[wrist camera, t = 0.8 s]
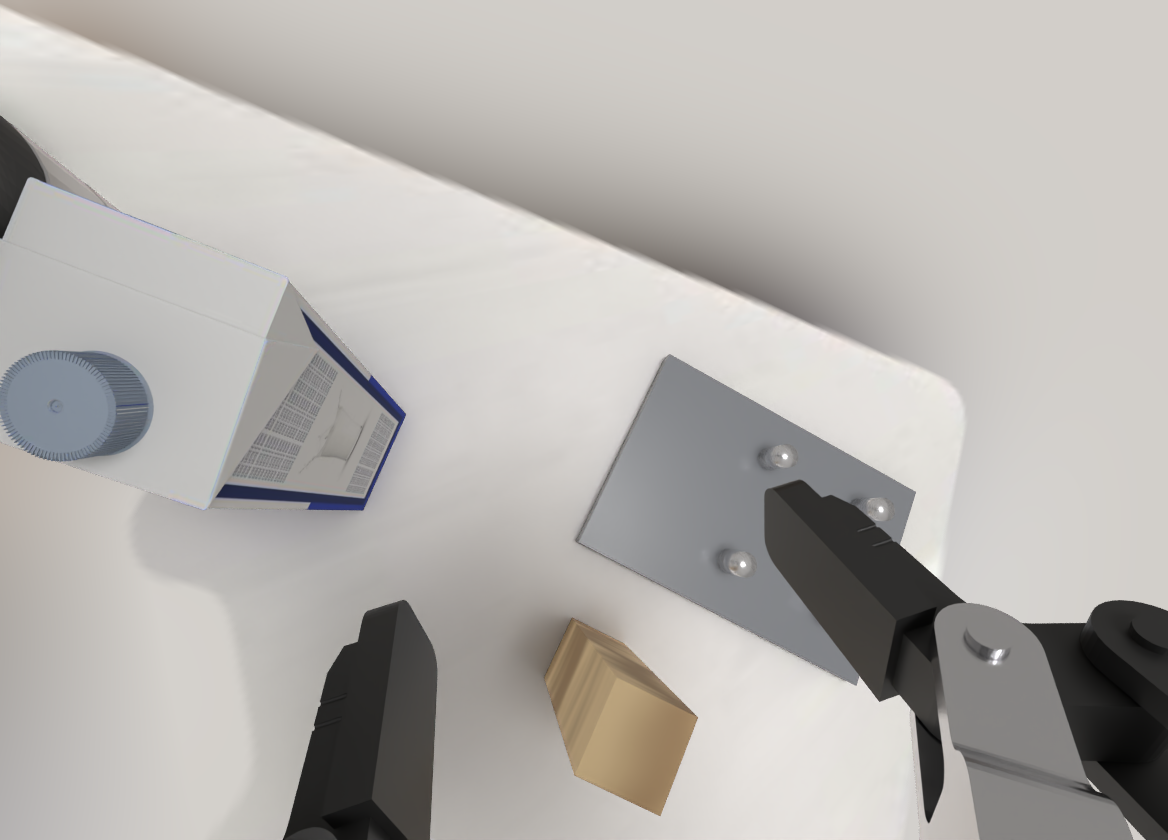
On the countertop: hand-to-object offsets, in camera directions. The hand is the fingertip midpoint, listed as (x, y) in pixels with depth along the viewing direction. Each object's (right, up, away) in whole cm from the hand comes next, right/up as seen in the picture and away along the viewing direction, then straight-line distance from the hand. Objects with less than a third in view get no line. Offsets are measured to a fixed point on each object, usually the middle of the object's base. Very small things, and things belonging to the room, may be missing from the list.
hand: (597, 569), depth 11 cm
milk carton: (-16, +2, +21) cm, 27 cm away
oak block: (0, -12, +21) cm, 25 cm away
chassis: (+12, -4, +25) cm, 28 cm away
